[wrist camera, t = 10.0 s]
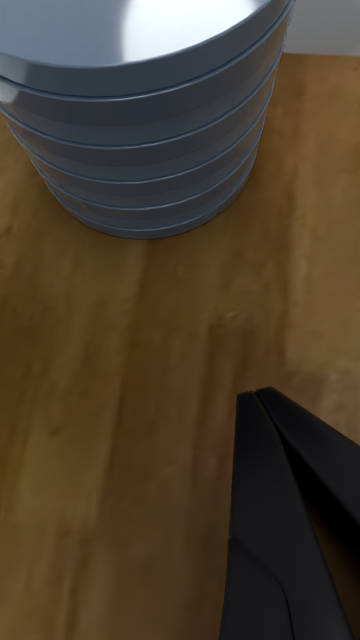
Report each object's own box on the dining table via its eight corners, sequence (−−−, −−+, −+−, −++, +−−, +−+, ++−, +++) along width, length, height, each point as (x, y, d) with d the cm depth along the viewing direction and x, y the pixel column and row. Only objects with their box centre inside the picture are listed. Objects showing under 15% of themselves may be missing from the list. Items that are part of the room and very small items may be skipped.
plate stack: (256, 244, 22) (324, 72, 11) (23, 235, 23) (-143, 67, 12) (256, 63, 27) (305, -197, 15) (60, 61, 28) (-34, -186, 16)
